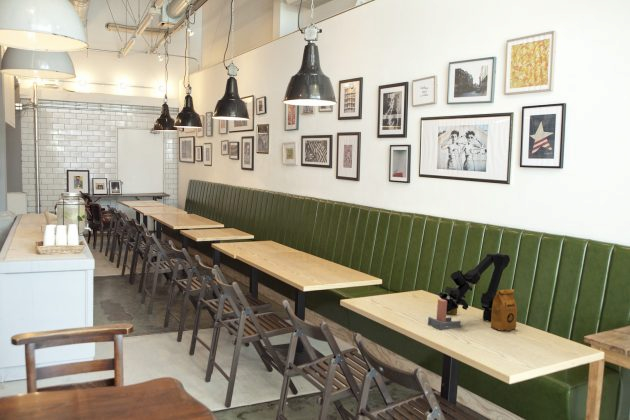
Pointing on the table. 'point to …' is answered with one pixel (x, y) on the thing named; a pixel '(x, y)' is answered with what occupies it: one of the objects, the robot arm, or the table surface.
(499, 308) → the coffee package
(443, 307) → the tall terracotta column
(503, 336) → the table surface
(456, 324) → the track housing
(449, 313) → the condiment
